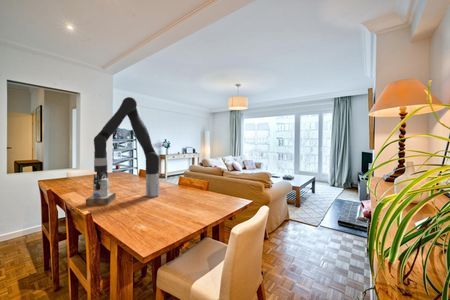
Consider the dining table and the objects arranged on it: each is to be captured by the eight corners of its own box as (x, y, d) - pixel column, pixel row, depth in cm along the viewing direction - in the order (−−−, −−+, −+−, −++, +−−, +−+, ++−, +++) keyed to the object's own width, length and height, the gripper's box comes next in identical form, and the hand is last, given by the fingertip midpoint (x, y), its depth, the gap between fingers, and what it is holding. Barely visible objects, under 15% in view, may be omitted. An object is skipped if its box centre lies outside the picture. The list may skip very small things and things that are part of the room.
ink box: (92, 197, 125) (92, 180, 125) (95, 195, 130) (94, 178, 129) (107, 196, 128) (107, 179, 127) (109, 194, 133) (109, 177, 132)
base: (115, 198, 137) (115, 192, 137) (107, 204, 124) (107, 198, 124) (96, 199, 135) (95, 193, 135) (85, 205, 122) (85, 199, 122)
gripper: (101, 166, 122) (102, 190, 123) (111, 163, 136) (111, 185, 137) (89, 166, 121) (89, 191, 122) (99, 163, 135) (100, 185, 136)
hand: (101, 188), depth 129 cm, fingers open, 8 cm apart
